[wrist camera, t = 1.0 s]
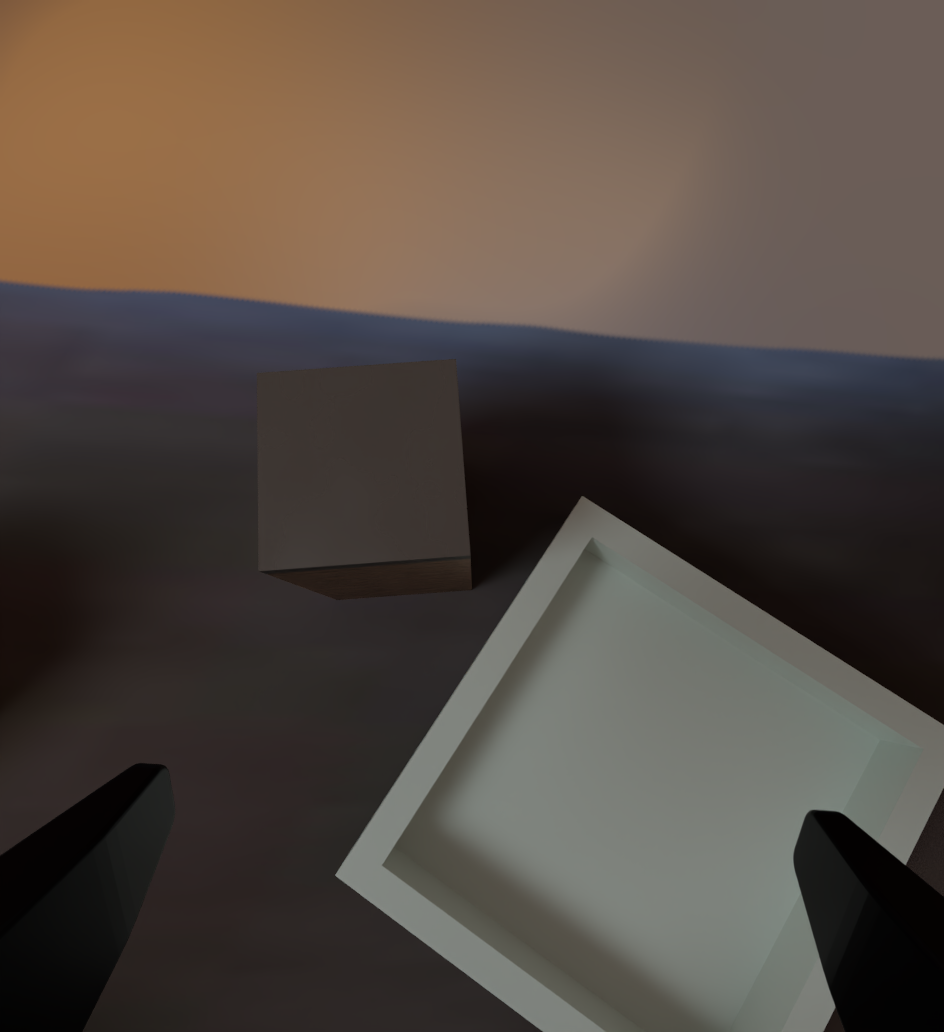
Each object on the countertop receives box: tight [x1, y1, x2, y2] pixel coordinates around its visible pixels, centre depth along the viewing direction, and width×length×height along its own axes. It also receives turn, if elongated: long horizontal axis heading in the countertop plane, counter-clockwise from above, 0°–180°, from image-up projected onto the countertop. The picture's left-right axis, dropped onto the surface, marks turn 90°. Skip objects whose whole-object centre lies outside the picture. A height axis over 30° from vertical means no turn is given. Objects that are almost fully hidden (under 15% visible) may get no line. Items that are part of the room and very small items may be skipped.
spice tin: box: [257, 359, 472, 600], centre depth 20 cm, size 5×5×9 cm
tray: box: [335, 496, 944, 1032], centre depth 21 cm, size 14×14×3 cm
